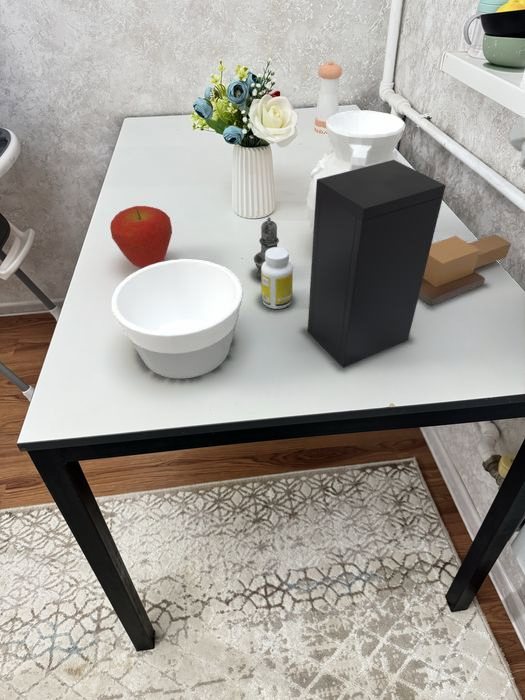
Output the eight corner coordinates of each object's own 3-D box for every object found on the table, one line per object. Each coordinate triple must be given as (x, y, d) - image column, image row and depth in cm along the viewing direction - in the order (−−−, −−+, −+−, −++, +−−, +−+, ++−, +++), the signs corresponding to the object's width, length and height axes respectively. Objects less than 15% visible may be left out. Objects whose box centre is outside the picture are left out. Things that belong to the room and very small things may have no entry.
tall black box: (408, 340, 79) (446, 185, 62) (342, 368, 75) (364, 209, 57) (369, 307, 86) (393, 159, 68) (307, 331, 81) (316, 179, 64)
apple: (118, 283, 93) (104, 225, 85) (122, 253, 101) (109, 198, 93) (177, 277, 94) (168, 219, 86) (176, 249, 102) (168, 193, 94)
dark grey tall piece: (290, 271, 95) (291, 214, 87) (274, 286, 91) (274, 228, 83) (264, 263, 97) (263, 206, 89) (248, 277, 94) (245, 219, 85)
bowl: (246, 310, 86) (243, 256, 79) (245, 389, 72) (242, 333, 64) (136, 312, 86) (124, 259, 79) (114, 393, 72) (96, 337, 64)
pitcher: (393, 278, 92) (420, 143, 76) (297, 268, 96) (302, 135, 79) (396, 231, 106) (419, 107, 89) (311, 223, 109) (318, 102, 92)
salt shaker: (327, 124, 158) (332, 57, 146) (342, 131, 154) (348, 61, 141) (309, 129, 156) (313, 60, 143) (324, 135, 151) (328, 65, 138)
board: (483, 284, 91) (485, 278, 90) (430, 306, 86) (432, 299, 85) (443, 260, 97) (445, 253, 96) (392, 278, 93) (394, 271, 92)
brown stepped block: (510, 259, 94) (519, 236, 91) (436, 287, 88) (442, 263, 84) (486, 245, 98) (494, 222, 95) (413, 271, 92) (418, 247, 88)
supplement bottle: (295, 295, 89) (297, 247, 82) (286, 312, 85) (288, 264, 79) (267, 289, 90) (266, 242, 84) (257, 306, 87) (256, 258, 80)
